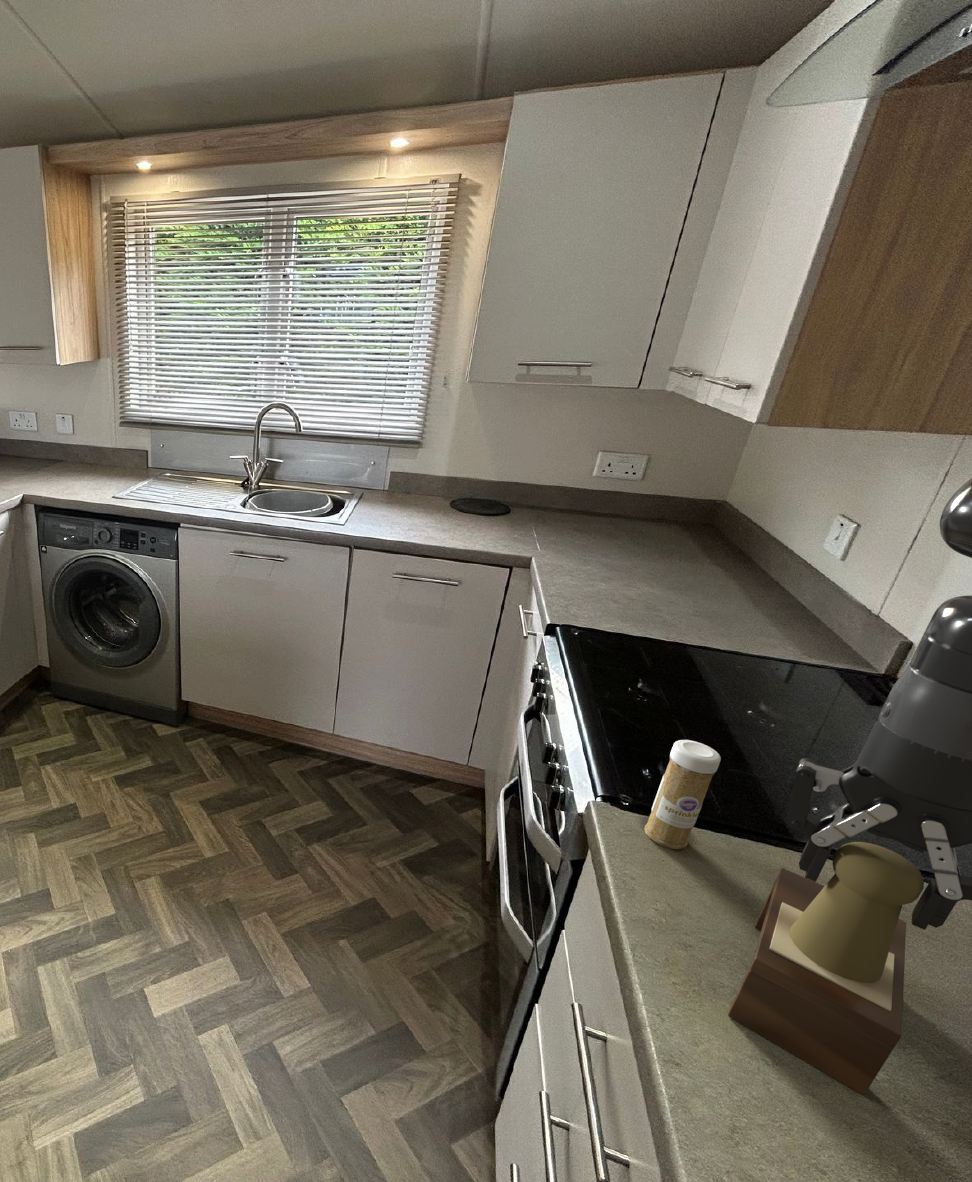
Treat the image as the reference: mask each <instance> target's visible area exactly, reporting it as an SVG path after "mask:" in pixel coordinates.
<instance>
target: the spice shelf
mask: <svg viewBox="0 0 972 1182" xmlns="http://www.w3.org/2000/svg"><path fill="white" fill-rule="evenodd" d="M824 887H825V885H822V884H820V883H817V881H816V882H814V881H811V880H809V879H807V878H805V876H802V875H800V874H798V873H795V872H793V871H790V870H788V869H786V868H784V867H781V868H780V870H779V872H778V873H777V876H776V879H775V880H774V882H773V885H772V887H771V889H770V891H769V894H768V896H767V897H766V900H765V901H764V904H763V905H762V908H761V910H760V913H759V914H758V916H757V919H756V922H755V925H754V928H755V929H756V930H758V931H760V932H759V933H760V934H759V938H758V940H757V944H756V947H755V950H754V954H753V957H752V961H751V963H750V965H749V967H748V969H747V971H746V973H745V975H744V977H743V980H742V982H741V983H740V986H739V988H738V990H737V991H736V994H735V997H734V998H733V1001H732V1003H731V1004H730V1008H729V1011H728V1015H727V1016H728V1018H730V1019H732V1020H734V1021H735V1022H737V1023H739V1024H740V1025H742V1026H744V1027H745V1028H747V1029H749V1030H750V1031H752V1032H754V1033H755V1034H757V1035H759V1036H761V1037H763V1038H764V1039H766V1040H768V1041H769V1042H770V1043H773V1044H774V1045H776V1046H778V1047H779V1048H781V1049H783V1050H785V1051H786V1052H788V1053H790V1054H791V1055H793V1056H794V1057H796V1058H798V1059H800V1060H801V1061H804V1062H805V1063H807V1064H808V1065H810V1066H812V1067H814V1068H815V1069H817V1070H818V1071H820V1072H822V1073H823V1074H826V1075H827V1076H829V1077H831V1078H832V1079H834V1080H835V1081H837V1082H839V1083H841V1084H842V1085H844V1086H846V1087H847V1088H850V1089H851V1090H853V1091H854V1092H856V1093H858V1094H860V1095H861V1096H865V1094H866V1093H867V1091H868V1090H869V1088H870V1087H871V1086H872V1083H873V1082H874V1081H875V1079H876V1078H877V1075H878V1074H879V1072H880V1071H881V1069H882V1068H883V1066H884V1065H885V1063H886V1062H887V1060H888V1059H889V1056H890V1055H891V1054H892V1052H893V1051H894V1048H896V1046H897V1045H898V1043H899V1041H900V1039H901V1038H902V1037H903V1036H902V1035H903V1016H904V1015H903V1012H904V1011H903V1010H904V991H905V990H904V989H905V988H904V986H905V965H906V964H905V963H906V962H905V961H906V938H907V937H906V936H907V935H906V934H907V922H906V921H904V920H902V919H900V918H899V919H898V922H897V926H896V929H895V933H894V936H893V939H892V943H891V946H890V950H889V953H888V957H887V960H886V964H885V967H884V970H883V974H882V976H881V978H880V980H879V981H876V982H873V983H864V982H857V981H853V980H850V979H846V978H843V977H841V976H839V975H836V974H834V973H832V972H830V971H828V970H826V969H825V968H823V967H821V966H820V965H818V964H816V963H815V962H813V961H812V960H811V959H810V958H808V957H807V956H806V955H804V954H803V953H802V952H801V951H800V950H799V948H798V947H797V946H796V945H795V944H794V942H793V941H792V939H791V937H790V931H789V929H790V928H791V927H792V925H793V924H794V923H795V922H796V921H797V919H798V918H799V917H800V916H801V915H802V913H803V912H804V911H805V910H806V908H807V907H808V906H809V905H810V904H811V902H812V901H813V900H814V899H815V897H816V896H817V895H818V894H819V893H820V891H821V890H822V889H823V888H824Z"/></svg>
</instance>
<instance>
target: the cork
mask: <svg viewBox="0 0 972 1182" xmlns="http://www.w3.org/2000/svg"><path fill="white" fill-rule="evenodd" d="M832 869H833V872H834V874H833V876H832V877H831V878H830V879H829V880H828V882H827V883H826V884H825V885H824V886H825V887H824V888H823V889H822V890H821V891H820V893H819V894H818V895H817V896H816V897H815V899H814V900H813V901H812V902H811V904H810V905H809V906H808V907H807V908H806V910H805V911H804V912H803V913H802V915H801V916H800V917H799V918H798V919H797V921H796V922H795V923H794V924H793V925H792V927H791V928H790V929H789V931H790V937H791V939H792V941H793V942H794V944H795V945H796V946H797V947H798V948H799V950H800V951H801V952H802V953H803V954H804V955H806V956H807V957H808V958H810V959H811V960H812V961H813V962H815V963H816V964H818V965H820V966H821V967H823V968H825V969H826V970H828V971H830V972H832V973H834V974H836V975H839V976H841V977H843V978H846V979H850V980H853V981H857V982H864V983H873V982H876V981H879V980H880V978H881V976H882V974H883V970H884V967H885V964H886V960H887V957H888V953H889V950H890V946H891V943H892V939H893V936H894V933H895V929H896V926H897V922H898V919H900V915H901V912H902V909H903V906H905V905H908V904H912V903H913V902H915V901H916V900H918V898H920V896H921V895H922V893H923V891H924V888H925V887H924V886H925V882H924V879H923V876H922V874H921V871H920V869H918V867H916V865H914V864H913V863H912V862H910V861H909V860H908V859H906V858H905V857H904V856H902V855H900V854H899V853H897V852H896V851H893V850H890V849H889V848H887V847H884V846H881V845H878V844H874V843H869V842H864V841H851V842H847V843H844V844H842V845H841V846H840V847H839V848H837V850H836V851H835V852H834V854H833V856H832Z"/></svg>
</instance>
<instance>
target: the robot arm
mask: <svg viewBox="0 0 972 1182" xmlns="http://www.w3.org/2000/svg"><path fill="white" fill-rule="evenodd" d="M939 532H940V536H941V538H942V540H943V541H944V543H945V544H946V545H947V546H948V547H949V548H950V549H951V550H953V551H954V552H956V553H958V554H959V555H962V556H965V557H968V558H970V559H972V477H971V478H969V479H968V480H966V482H965V483H963V484H962V485H961V486H960V487H959V488H958V489H957V490H956V491H955V492H954V493H953V494H952V496H951V497H950V498H949V500H947V502H946V504H945V505H944V507H943V510H942V512H941V515H940V519H939ZM796 767H797V768H796V771H795V774H794V781H793V784H792V790H791V796H790V800H789V806H788V811H787V815H786V820H785V821H786V824H787V826H788V827H789V828H791V829H792V830H796V831H800V832H801V833H803V834H804V835H805V836H806V837H807V838H808V840H807V841H806V844H805V846H804V848H803V851H802V852H801V854H800V857H799V861H798V866H799V867H798V868H799V870H801V871H804V872H805V876H804V878H806V879H809V880H811V881H813V882H816V883H817V880H818V878H819V877H820V874H821V872H822V870H823V869H824V867H825V864H826V862H827V860H828V858H829V856H830V855H831V852H832V847H833V844H835V843H837V842H839V841H841V840H844V839H845V838H848V839H849V838H852V837H855V836H857V835H859V834H860V833H863V832H865V831H866V832H867V833H869V834H872V835H875V836H877V837H880V838H884V839H889V840H894V841H896V842H898V843H900V844H901V845H903V846H905V847H907V848H908V849H911V850H914V851H917V852H919V853H924V852H927V853H928V857H929V862H930V865H931V870H932V871H933V874H934V878H931V879H930V880H929V881H928V884H927V885H926V886H925V889H923V891H922V893H921V895H920V896H919V899H918V901H917V902H916V904H915V906H914V907H913V909H912V912H911V925H912V926H915V927H916V928H919V929H922V930H924V931H925V930H927V927H928V926H931V927H933V928H936V929H937V928H939V927H942V926H943V925H944V924H945V922H946V920H948V917H949V915H950V914H951V912H952V911H953V909H954V907H955V906H956V904H957V903H958V902H959V901H965V900H968V901H972V876H967V875H962V874H961V871H960V866H959V863H958V860H957V852H956V848H960V847H964V846H968V845H971V844H972V595H969V594H968V595H960V596H953V597H951V598H948V599H946V600H944V601H943V602H942V603H941V604H940V605H939V606H938V607H937V609H936V610H935V611H934V613H933V615H932V616H931V618H930V621H929V622H928V625H927V627H926V628H925V631H923V634H922V637H921V638H920V641H919V643H918V645H917V646H916V649H915V651H914V653H913V655H912V657H911V658H910V662H908V665H907V666H906V668H905V669H904V671H903V672H902V673H901V674H900V676H899V677H898V678H897V680H896V682H895V683H894V684H893V686H892V687H891V690H890V691H889V693H888V695H887V697H886V700H885V702H884V704H882V706H881V709H880V712H879V714H878V716H877V718H876V720H875V723H874V725H873V727H872V728H871V731H870V732H869V735H868V736H867V739H866V741H865V743H864V745H863V747H862V749H861V752H860V754H859V755H858V757H857V759H856V761H855V763H853V764H852V765H851V766H848V768H845V769H843V770H838V769H834V768H830V767H826V766H822V765H819V764H818V762H817V761H816V760H815V759H812V758H809V757H804V758H801V759H800V760H799V761H798V765H797V766H796ZM835 785H836V786H839V789H840V790H841V793H842V794H843V796H844V798H845V800H846V803H845V804H843V805H840V806H839V807H837V809H836V810H835V811H833V812H832V813H830V814H828V815H826V816H824V817H822V818H821V819H819V818H817V817H816V816H815V815H813V814H812V813H810V808H811V803H812V798H813V793H814V792H816V793H824V792H825V791H827V789H828V787H830V786H835Z"/></svg>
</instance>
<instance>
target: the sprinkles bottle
mask: <svg viewBox="0 0 972 1182" xmlns="http://www.w3.org/2000/svg"><path fill="white" fill-rule="evenodd" d="M672 745H673V746H672V747H671V750H670V754H669V762H668V764H667V766H666V769H665V771H664V774H663V775H662V778H661V781H660V784H659V787H658V790H657V791H656V792H657V793H656V795H655V798H654V800H653V803H652V806H651V812H650V814H649V818H648V820H647V823H646V824H645V825H644V832H645V835H647V837H648V838H649V839H651V841H653V842H655V843H657V844H658V845H660V846H662V847H666V848H668V849H671V850H673V849H674V850H683V849H685V848H686V847H687V846H688V844H689V838H690V836H691V833H692V830H693V829H694V827H695V825H696V822H697V820H698V817H699V814H700V812H701V810H702V807H703V803H704V800H705V798H706V795H707V792H708V790H709V786H710V784H711V781H712V778H713V776H715V773H716V772H717V771H718V769H719V766H720V763H721V760H722V758H721V755H720V753H718V751H716V749H713V747H711V746H708V745H706V744H704V743H702V742H698V741H695V740H690V739H678V740H676V741H675V742H673V744H672Z"/></svg>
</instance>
